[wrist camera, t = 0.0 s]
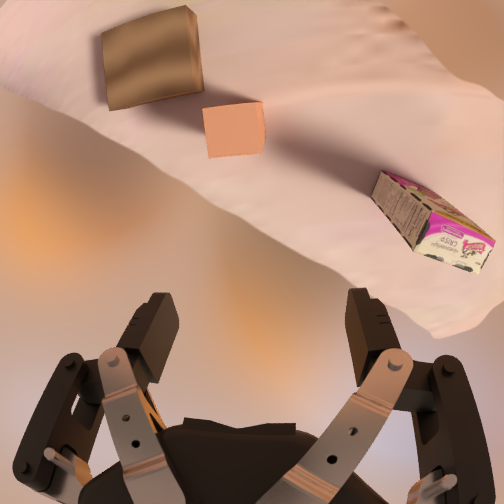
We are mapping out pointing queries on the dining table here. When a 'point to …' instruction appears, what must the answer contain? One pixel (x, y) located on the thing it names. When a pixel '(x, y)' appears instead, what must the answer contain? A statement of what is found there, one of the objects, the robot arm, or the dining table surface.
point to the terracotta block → (234, 129)
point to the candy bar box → (432, 224)
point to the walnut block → (152, 59)
